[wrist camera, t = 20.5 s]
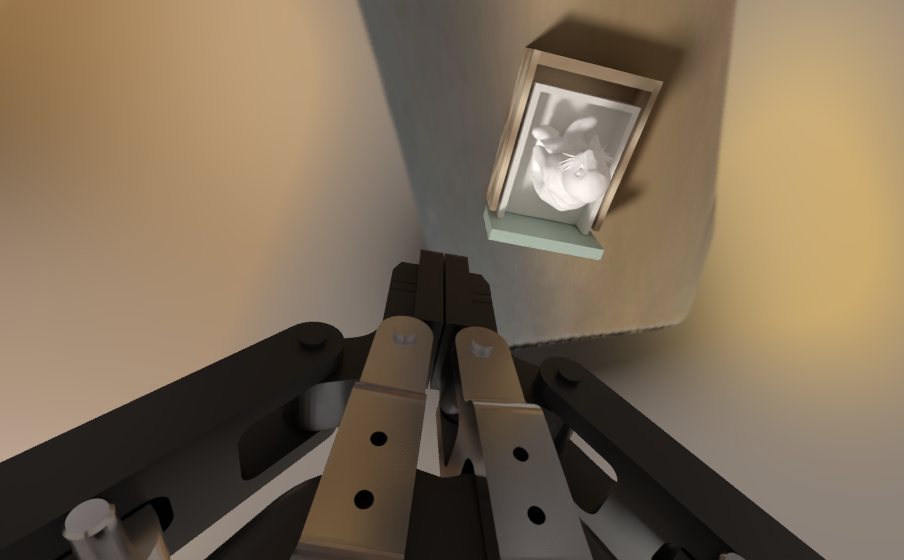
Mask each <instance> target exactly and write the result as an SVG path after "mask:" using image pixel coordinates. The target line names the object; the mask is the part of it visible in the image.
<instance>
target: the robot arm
mask: <svg viewBox="0 0 904 560" xmlns="http://www.w3.org/2000/svg"><path fill="white" fill-rule="evenodd" d="M429 380H430V389H435V390H440V397H439V402H438V406H437V410H436V425H437V437H438V438H437V439H438V453H439V467H440V477H438V476H436V475H433V474H430V473H427V472H424V471H421V470H419V469H417V461H418V454H419V447H420V440H421V433H422V426H423V419H424V412H425V405H426V394H425V391H426V389H427V388H428V384H429ZM336 427H339V428H338V432H337V434H336V437H335V440H334V443H333V446H332V448H331V451H330V454H329V457H328V460H327V463H326V466H325V468H324V471H323V474H322V475H320V476H317V477H315V478H312V479H309V480H307V481H304V482H303V483H301V484H299V485H297V486H295V487H293V488H291V489H290V490H288V491H287V492H285V493H284V494H282V495H281V496H279V497H278V498H277V499H276V500H274V501H273V502H272V503H271V504H270V505H268V506H267V507H266V508H265V509H264V510H263V511H261V512H260V513H259V514H258V515H257V516H255V517H254V518H253V519H252V520H251V521H250V522H248V523H247V524H246V525H245V526H243V528H241V529H240V530H239V531H238V532H236V533H235V534H234V535H233V536H232V537H230V538H229V539H228V540H227V541H226V542H225V543H223V544H222V545H221V546H220V547H219V548H217V549H216V550H215V551H214V552H213V553H212V554H210V555H209V556H208V557H207V558H206V559H204V560H825V559H824V558H823V557H822V556H820V555H819V554H818V553H817V552H815V551H814V550H813V549H812V548H810V547H809V546H808V545H807V544H805V543H804V542H803V541H802V540H800V539H799V538H798V537H797V536H795V535H794V534H793V533H791V532H790V531H789V530H788V529H787V528H785V527H784V526H783V525H781V524H780V523H779V522H778V521H777V520H775V519H774V518H773V517H772V516H770V515H769V514H768V513H766V512H765V511H764V510H763V509H761V508H760V507H759V506H758V505H756V504H755V503H754V502H753V501H751V500H750V499H749V498H747V497H746V496H745V495H744V494H742V493H741V492H740V491H739V490H738V489H736V488H735V487H734V486H733V485H731V484H730V483H729V482H728V481H726V480H725V479H724V478H723V477H721V476H720V475H719V474H718V473H716V472H715V471H714V470H713V469H711V468H710V467H709V466H707V465H706V464H705V463H704V462H702V461H701V460H700V459H699V458H697V457H696V456H695V455H694V454H692V453H691V452H690V451H689V450H687V449H686V448H685V447H684V446H682V445H681V444H680V443H678V442H677V441H676V440H675V439H674V438H672V437H671V436H670V435H669V434H667V433H666V432H665V431H664V430H662V429H661V428H660V427H658V426H657V425H656V424H655V423H653V422H652V421H651V420H650V419H648V418H647V417H646V416H645V415H643V414H642V413H641V412H640V411H638V410H637V409H636V408H634V407H633V406H632V405H631V404H630V403H628V402H627V401H626V400H625V399H623V398H622V397H621V396H620V395H618V394H617V393H616V392H615V391H613V390H612V389H611V388H610V387H608V386H607V385H606V384H605V383H603V382H602V381H601V380H599V379H598V378H597V377H596V376H594V375H593V374H592V373H591V372H589V371H588V370H587V369H585V368H584V367H583V366H581V365H580V364H579V363H577V362H575V361H572V360H570V359H567V358H563V357H550V358H547V359H546V360H544V361H543V363H542V364H541V366H540V367H539V366H536V365H534V364H531V363H529V362H526V361H523V360H521V359H519V358H517V357H515V356H513V355H512V354H511V353H510V349H509V346H508V344H507V342H506V341H505V340H504V338H503V337H501V336H500V335H499V334H498V333H497V327H496V321H495V315H494V309H493V306H492V298H491V292H490V286H489V284H488V283H487V281H486V280H485V279H484V278H483V276H482V275H480V274H473V273H469V266H468V258H467V257H464V256H458V255H452V254H446V253H445V254H444V257H443V253H440V252H434V251H428V250H422V249H421V250H420V254H419V259H418V264H411V263H405V262H401V263H400V264H399V265H397V266H396V267H395V268H394V269H393V272H392V277H391V282H390V287H389V292H388V297H387V302H386V307H385V313H384V318H383V321H382V322H381V323H380V325H379V326H378V328H377V330H375V331H374V332H372V333H370V334H368V335H365V336H361V337H355V338H344V337H343V335H342V333H341V332H340V331H339V330H338V329H337V328H335V327H334V326H331V325H329V324H326V323H322V322H305V323H301V324H297V325H295V326H292V327H290V328H288V329H286V330H284V331H282V332H279V333H277V334H275V335H273V336H271V337H269V338H266V339H264V340H262V341H260V342H258V343H256V344H254V345H251V346H249V347H247V348H245V349H243V350H241V351H239V352H237V353H234V354H232V355H230V356H228V357H226V358H224V359H221V360H219V361H217V362H215V363H213V364H211V365H209V366H207V367H204V368H202V369H200V370H198V371H196V372H194V373H191V374H190V375H187V376H185V377H183V378H181V379H179V380H177V381H175V382H172V383H170V384H168V385H166V386H164V387H161V388H159V389H157V390H155V391H153V392H151V393H149V394H146V395H144V396H142V397H140V398H138V399H136V400H134V401H131V402H130V403H127V404H125V405H123V406H121V407H119V408H116V409H114V410H112V411H110V412H108V413H106V414H104V415H101V416H99V417H97V418H95V419H93V420H91V421H89V422H86V423H84V424H82V425H80V426H78V427H76V428H74V429H71V430H69V431H67V432H65V433H63V434H61V435H59V436H57V437H54V438H52V439H50V440H48V441H46V442H44V443H41V444H39V445H37V446H35V447H33V448H31V449H29V450H26V451H24V452H22V453H20V454H18V455H16V456H14V457H11V458H9V459H7V460H5V461H3V462H1V463H0V560H170V556H171V555H173V554H174V553H175V552H176V551H178V550H179V549H181V548H182V547H183V546H185V545H186V544H187V543H188V542H190V541H191V540H193V539H194V538H195V537H197V536H198V535H199V534H200V533H202V532H203V531H205V530H206V529H207V528H209V527H210V526H211V525H212V524H214V523H215V522H216V521H218V520H219V519H221V518H222V517H223V516H224V515H226V514H227V513H228V512H230V511H231V510H233V509H234V508H235V507H237V506H238V505H239V504H241V503H242V502H243V501H245V500H246V499H247V498H249V497H250V496H251V495H253V494H254V493H255V492H257V491H258V490H259V489H261V488H262V487H263V486H264V485H266V484H267V483H269V482H270V481H271V480H273V479H274V478H275V477H277V476H278V475H279V474H281V473H282V472H283V471H284V470H286V469H287V468H289V467H290V466H291V465H293V464H294V463H295V462H297V461H298V460H299V459H301V458H302V457H303V456H305V455H306V454H307V453H308V452H310V451H311V450H313V449H314V448H315V447H317V446H318V445H319V444H321V443H322V442H323V441H325V440H326V439H327V438H328V437H330V436H331V435H332V434H333V432H334V431H335V429H336ZM574 431H575V432H576V433H577V434H578V435H579V436H580V437H581V438H582V439H583V440H584V441H585V442H587V443H588V444H589V445H590V446H591V447H592V448H593V449H594V450H595V451H596V452H597V453H598V454H599V455H601V456H602V457H603V458H604V459H605V460H606V461H607V462H608V463H609V464H610V465H611V466H612V468H613V469H614V471H615V473H616V475H617V482H616V481H614V480H613V479H611V478H610V477H609V476H608V475H607V474H606V473H605V472H604V471H603V470H602V469H601V468H600V467H599V466H598V465H596V464H595V463H594V462H593V461H592V460H591V459H590V458H589V457H588V456H587V455H586V454H585V453H584V452H583V451H582V450H581V449H580V448H579V447H577V446H576V445H575V444H574V443H573V442H572V441H571V440H570V437H571V435H572V434H573V432H574Z"/></svg>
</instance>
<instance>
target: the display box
mask: <svg viewBox="0 0 904 560" xmlns="http://www.w3.org/2000/svg"><path fill="white" fill-rule="evenodd" d="M533 80H535V81H540V82H544V83H548V84H552V85H556V86H560V87H564V88H568V89H573V90H577V91H581V92H585V93H589V94H593V95H597V96H601V97H606V98H610V99H614V100H618V101H622V102H626V103H629V104H632V105H634V106H637V107H640V108H641V110H640V112H639V115H638V117H637V119H636V122H635V124H634V126H633V129H632V131H631V134H630V136H629V138H628V141H627V143H626V145H625V148H624V150H623V153H622V155H621V157H620V160H619V162H618V164H617V167H616V169H615V172H614V174H613V176H612V179H611V181H610V185H609V188H608V189H607V191H606V193H605V195H604V198H603V200H602V202H601V205H600V207H599V210H598V212H597V214H596V217H595V219H594V221H593V224H592V226H591V228H592V229H593V230H594V231H599V229H600V227H601V225H602V223H603V220H604V218H605V216H606V213H607V211H608V209H609V206H610V204H611V202H612V199H613V197H614V195H615V193H616V190H617V188H618V186H619V183H620V181H621V179H622V176H623V174H624V172H625V170H626V167H627V165H628V163H629V160H630V158H631V156H632V153H633V151H634V149H635V146H636V144H637V142H638V140H639V137H640V135H641V133H642V130H643V128H644V126H645V123H646V121H647V119H648V116H649V114H650V112H651V110H652V107H653V105H654V103H655V100H656V98H657V96H658V93H659V91H660V89H661V86H662V84H663V82H662V81H658V80H654V79H650V78H646V77H642V76H638V75H634V74H630V73H626V72H622V71H618V70H614V69H611V68H607V67H603V66H599V65H595V64H591V63H587V62H583V61H579V60H575V59H571V58H567V57H563V56H559V55H555V54H551V53H547V52H543V51H539V50H535V49H531V48H526V47H525V51H524V54H523V58H522V62H521V66H520V69H519V73H518V77H517V80H516V84H515V88H514V92H513V95H512V99H511V103H510V107H509V110H508V114H507V118H506V122H505V125H504V129H503V133H502V137H501V140H500V144H499V148H498V152H497V155H496V159H495V163H494V166H493V170H492V174H491V178H490V181H489V185H488V189H487V193H486V198H487V201H488V205H489V209H490V210H492V211H496V207H497V204H498V200H499V197H500V193H501V190H502V186H503V183H504V179H505V176H506V172H507V169H508V165H509V162H510V158H511V155H512V151H513V148H514V144H515V141H516V137H517V134H518V130H519V127H520V123H521V120H522V116H523V113H524V109H525V106H526V102H527V99H528V95H529V92H530V88H531V85H532V81H533Z"/></svg>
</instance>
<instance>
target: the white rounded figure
mask: <svg viewBox="0 0 904 560" xmlns="http://www.w3.org/2000/svg"><path fill="white" fill-rule="evenodd" d="M597 121H598V120H597V118H596V117H594V116H588V117H583V118H579V119H577V120H575V121H574V122H573V123H572V124H571V125H570V126H569V127H568V128H567V129H566V131H565V134H564V136H563V137H559V131H557V130H555V129H554V128H553V127H552V126H550V125H547V124H545V125H539V126H536V127H534V129H533V131H532V134H533V135H534V137H535V138H537V142H536V146H535V147H534V148H533V155H532V161H531V174H530V178H531V179H532V181H533V185H534V188H535V190H536V192H537V194H538V195H539V197H540V198H541V199H542V200H544V201H545V202H547V203H548V204H550V205H551V206H553V207H554V208H556V209H557V210H559V211H566V210H573V209H578V208H580V207H582V206H584V205H586V204H587V203H591V202H594V201H596V200H597V199H599V198H600V197H601V196H602V195H603V194H604V193H605V192H606V191H607V189H608V188H609V185H610V181H611V173H610V169H609V167H608V165H607V164H606V161H607V162H609V163H612V162H611V161H615V160H612V159H614V158H612V157H610V156H608V155H610V154H611V153H605V152H606V151H605V152H604V151H603V150H604V149H605V148H606V146H607V145H608V144H607V145H606V146H605V147H604V148H603V149H602V147H601V144H600V141H599V137H598V135H594V136H593V137H592V138H591V140H590V144H589V147H588V146H587V144H586V143H585V141H584V140H583V137H584V134H585V133H587V132H589V131H590V130H591V129H593V128H594V127H595V126H596V124H597ZM607 151H608V150H607ZM607 159H608V160H607ZM609 160H611V161H609ZM615 162H617V161H615Z"/></svg>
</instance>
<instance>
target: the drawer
mask: <svg viewBox="0 0 904 560" xmlns="http://www.w3.org/2000/svg"><path fill="white" fill-rule="evenodd" d="M640 110H641V108H640V107H637V106H634V105H632V104H629V103H626V102H622V101H618V100H614V99H610V98H606V97H601V96H597V95H593V94H589V93H585V92H581V91H577V90H573V89H568V88H564V87H560V86H556V85H552V84H548V83H544V82H540V81H535V80H533V81H532V85H531V88H530V92H529V95H528V99H527V102H526V106H525V109H524V113H523V116H522V120H521V123H520V127H519V130H518V134H517V137H516V141H515V144H514V148H513V151H512V155H511V158H510V162H509V165H508V169H507V172H506V176H505V179H504V183H503V186H502V190H501V193H500V197H499V200H498V204H497V207H496V211H492V210H490V209H489V206H486V208H485V211H484V215H483V216H484V221H485V225H486V229H487V234H488V238H489V240H495V241H500V242H505V243H511V244H516V245H521V246H527V247H532V248H537V249H543V250H548V251H553V252H559V253H564V254H569V255H575V256H580V257H585V258H591V259H596V260H600V259H601V256H602V254H603V252H604V249H603V248H602V246H601V245H600V244H599V242H598V241H597V240H596V238H595V237H594V236H593V234H592V233H591V231H590V229H591V226H592V224H593V221H594V219H595V217H596V214H597V212H598V210H599V207H600V205H601V202H602V200H603V198H604V195H605V193H606V192H605V193H604V194H603V195H602V196H601V197H600V198H599V199H597V200H596V201H594V202H591V203H587V204H586V205H584V206H582V207H580V208H578V209H573V210H566V211H559V210H557V209H556V208H554V207H553V206H551V205H550V204H548V203H547V202H545V201H544V200H542V199H541V198H540V197H539V195H538V194H537V192H536V190H535V188H534V185H533V181H532V179H531V178H530V174H531V161H532V155H533V148H534V147H535V146H536V142H537V138H535V137H534V135H533V134H532V131H533V129H534V127H536V126H539V125H545V124H547V125H550V126H552V127H553V128H554V129H555V130H557V131H559V137H563V136H564V134H565V131H566V129H567V128H568V127H569V126H570V125H571V124H572V123H573V122H574V121H575V120H577V119H579V118H583V117H588V116H594V117H596V118H597V120H598V121H597V124H596V126H595V127H594V128H593V129H591V130H590V131H589V132H587V133H585V134H584V137H583V140H584V141H585V143H586V144H587V146H588V147H589V144H590V140H591V138H592V137H593V136H594V135H598V137H599V141H600V144H601V147H602V149H603V148H604V147H605V146H606V145H607V144H608V145H607V146H606V148H605V149H604V150H603V151H604V152H605V151H606V152H605V153H611V154H610V155H608V156H610V157H612V158H614V159H612V160H615V161H617V162H615V161H611V160H609V161H611V162H612V163H609V162H607V161H606V164H607V165H608V167H609V169H610V173H611V179H612V176H613V174H614V172H615V169H616V167H617V164H618V162H619V160H620V157H621V155H622V153H623V150H624V148H625V145H626V143H627V141H628V138H629V136H630V134H631V131H632V129H633V126H634V124H635V122H636V119H637V117H638V115H639V112H640ZM607 150H608V151H607ZM607 160H608V159H607Z"/></svg>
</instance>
